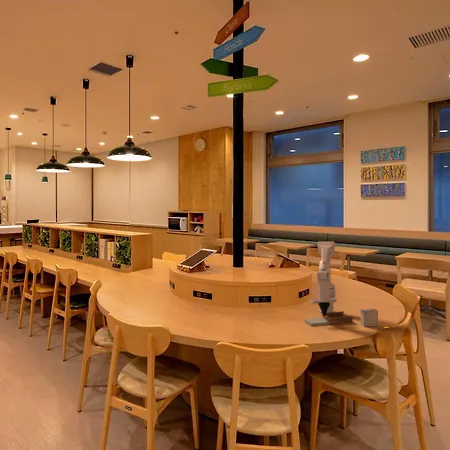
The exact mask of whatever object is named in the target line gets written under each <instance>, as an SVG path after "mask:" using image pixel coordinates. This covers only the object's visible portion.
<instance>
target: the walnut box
mask: <svg viewBox="0 0 450 450" xmlns="http://www.w3.org/2000/svg"><path fill="white" fill-rule="evenodd" d="M322 318H324V319H326V320H327V321H329V322H330V326H334V325H335V326H336V325H344V324H345V325H347V323H348V324H353V315H348V314H347V313H345V311H344V310H343V311H341V310H340V311H334V312H328V313H326V316H323V315H322Z"/></svg>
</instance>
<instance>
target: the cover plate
mask: <svg viewBox="0 0 450 450" xmlns="http://www.w3.org/2000/svg"><path fill="white" fill-rule="evenodd" d="M304 323H306V324H307V325H308V326H310V327H318V326H319V325H320V326H328V325H330V322H329V321H327V320H326V319H324V318H323V317H316V318H305V319H304ZM330 326H331V325H330Z"/></svg>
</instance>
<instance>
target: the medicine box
mask: <svg viewBox="0 0 450 450" xmlns="http://www.w3.org/2000/svg"><path fill="white" fill-rule="evenodd" d="M360 325H361V326H362V327H365V328H366V327H379V310H378V309H376V308H360Z"/></svg>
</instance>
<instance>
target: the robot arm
mask: <svg viewBox="0 0 450 450" xmlns="http://www.w3.org/2000/svg"><path fill="white" fill-rule="evenodd" d="M335 244H336V243H335V242H334V240H333V241H318V242H317V252H318V254H319V255H320V256H321V260H320V261H319V262H318V263H319V264H318V271H317V272H316V278H317V285H318V287H317V289H318V298H317V299H316V298H315V299H310V304H312V305H315V304H317V305H318V309H317V311H318V312H320V313H321V315H322V317H323V316H326V313H328V312H335V311H334V303H337V301H338V300H337V298H336V295H337V293H336V292H337V291H336V286H335V284H334V283H332V279H331V277H332V276H331V275H332V274H331V272H332V271H331V268H332V267H331V266H332V265H331V263H332V262H331V259H332V256H334V255H335V251H336V249H335V248H336V247H335V246H336V245H335Z"/></svg>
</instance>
